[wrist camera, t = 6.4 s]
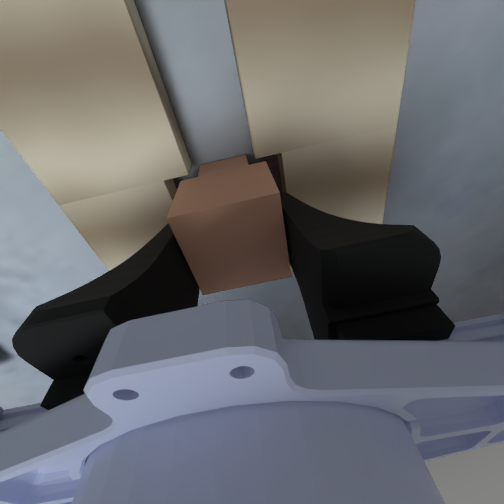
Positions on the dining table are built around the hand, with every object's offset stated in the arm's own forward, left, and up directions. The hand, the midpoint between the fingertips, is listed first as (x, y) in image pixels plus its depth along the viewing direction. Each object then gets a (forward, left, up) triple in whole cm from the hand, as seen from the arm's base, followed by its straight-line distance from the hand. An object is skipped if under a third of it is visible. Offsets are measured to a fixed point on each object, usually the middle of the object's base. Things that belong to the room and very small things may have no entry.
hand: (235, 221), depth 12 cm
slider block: (0, 0, -2) cm, 3 cm away
